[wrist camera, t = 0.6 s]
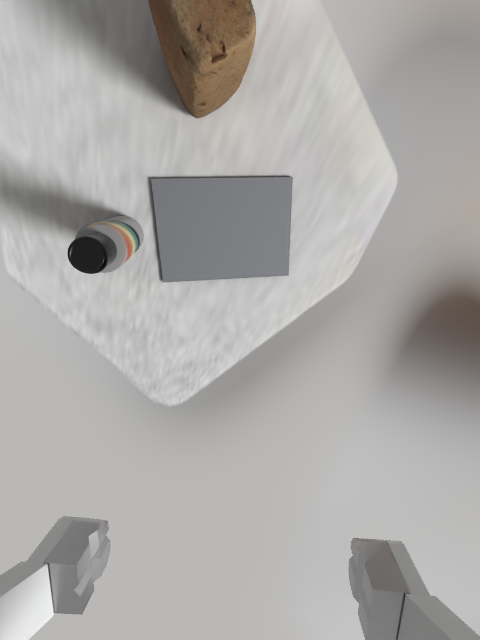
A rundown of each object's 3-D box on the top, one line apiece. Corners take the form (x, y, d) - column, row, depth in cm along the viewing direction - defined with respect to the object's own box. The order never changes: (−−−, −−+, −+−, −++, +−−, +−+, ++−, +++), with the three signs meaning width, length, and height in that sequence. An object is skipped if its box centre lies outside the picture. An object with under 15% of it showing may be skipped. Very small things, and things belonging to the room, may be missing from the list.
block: (237, 102, 45) (271, 35, 26) (192, 128, 45) (194, 80, 26) (200, 13, 40) (209, -142, 22) (151, 42, 41) (119, -87, 22)
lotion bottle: (112, 254, 50) (66, 288, 31) (102, 217, 47) (47, 230, 29) (147, 249, 50) (123, 280, 32) (139, 213, 48) (108, 223, 30)
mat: (163, 281, 52) (163, 282, 52) (151, 178, 46) (150, 178, 46) (287, 274, 55) (288, 275, 55) (291, 177, 49) (292, 177, 49)
